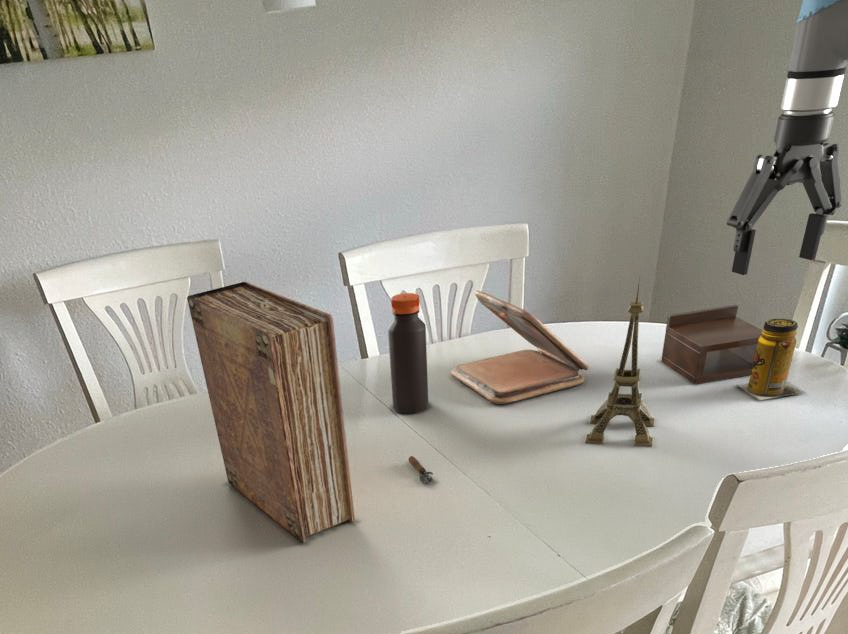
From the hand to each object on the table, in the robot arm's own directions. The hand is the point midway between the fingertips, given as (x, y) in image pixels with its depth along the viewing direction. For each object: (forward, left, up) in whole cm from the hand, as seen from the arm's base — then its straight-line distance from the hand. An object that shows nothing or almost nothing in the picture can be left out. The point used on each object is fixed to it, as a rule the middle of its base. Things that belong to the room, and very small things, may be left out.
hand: (773, 265), depth 128 cm
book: (-13, +86, -21) cm, 89 cm away
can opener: (-11, +64, -21) cm, 68 cm away
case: (+21, +36, -21) cm, 47 cm away
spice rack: (+12, 0, -21) cm, 24 cm away
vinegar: (+16, +59, -21) cm, 64 cm away
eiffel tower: (-8, +28, -21) cm, 36 cm away
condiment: (-2, -4, -21) cm, 22 cm away
